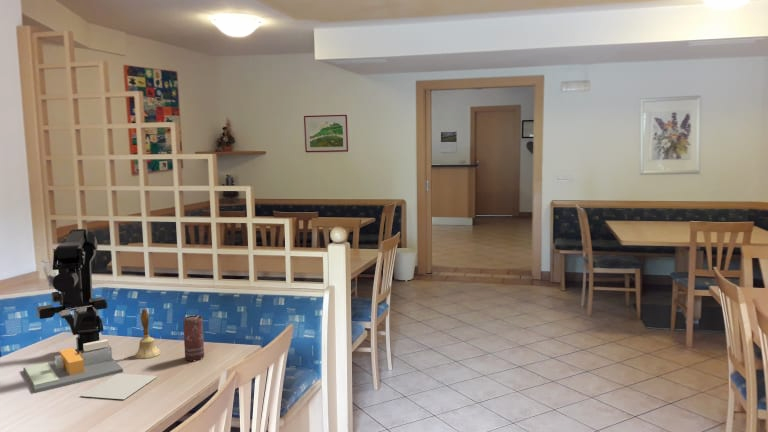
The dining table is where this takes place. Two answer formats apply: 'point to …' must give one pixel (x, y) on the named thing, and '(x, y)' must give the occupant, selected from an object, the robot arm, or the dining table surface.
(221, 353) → the dining table surface
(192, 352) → the can
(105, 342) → the cream bar
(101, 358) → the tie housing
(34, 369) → the pad
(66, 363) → the orange block
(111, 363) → the slate board
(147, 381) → the paper stack
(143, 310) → the hand bell
